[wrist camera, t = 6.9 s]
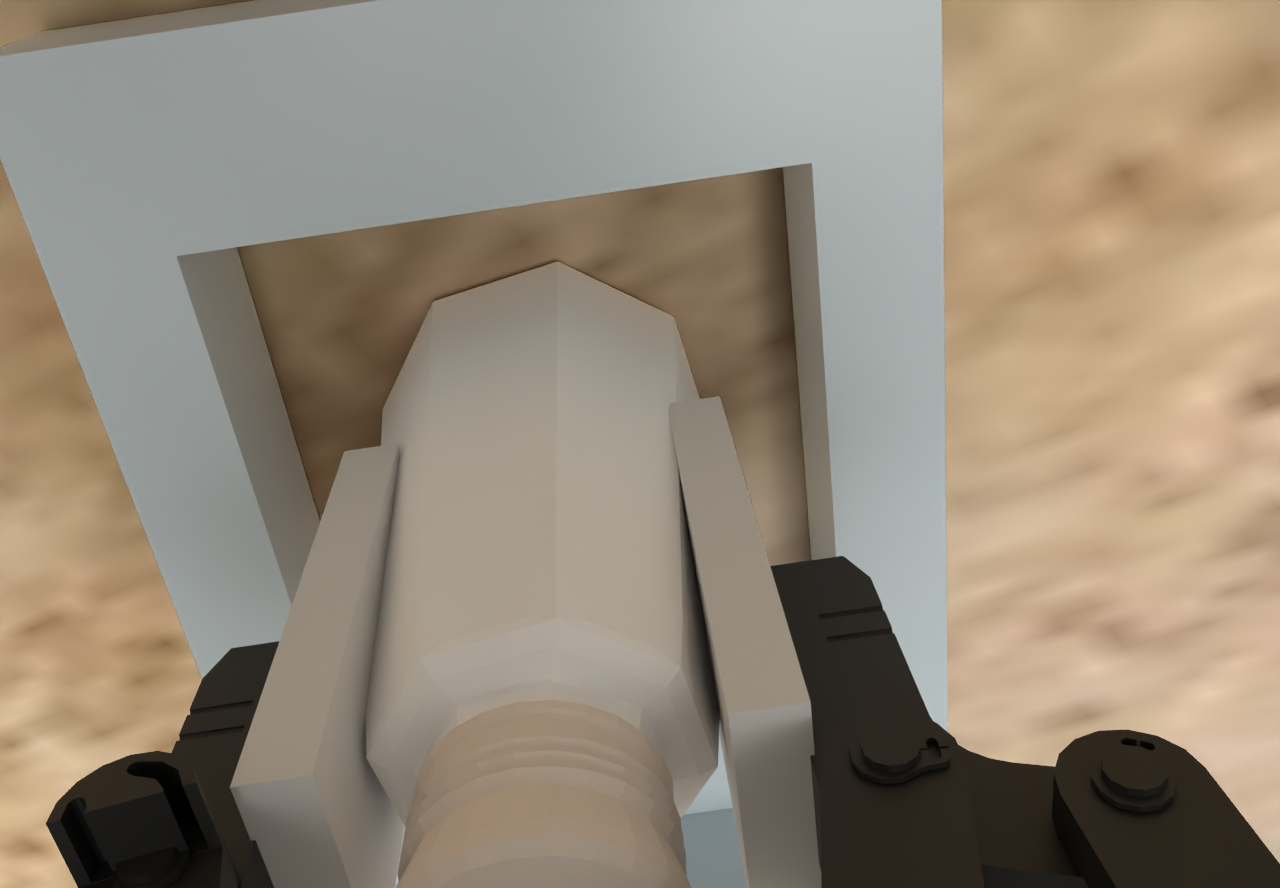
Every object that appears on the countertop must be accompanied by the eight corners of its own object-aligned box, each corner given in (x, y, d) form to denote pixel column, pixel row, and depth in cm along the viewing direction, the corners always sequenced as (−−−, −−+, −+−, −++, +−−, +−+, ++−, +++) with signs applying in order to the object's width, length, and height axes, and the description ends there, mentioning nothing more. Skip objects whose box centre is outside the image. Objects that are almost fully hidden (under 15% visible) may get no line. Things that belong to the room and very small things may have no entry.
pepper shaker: (689, 554, 21) (807, 1168, 11) (385, 542, 21) (235, 1176, 11) (726, 269, 19) (917, 739, 9) (382, 245, 18) (184, 720, 8)
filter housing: (42, 31, 16) (-269, 149, 10) (888, -94, 16) (1093, -52, 10) (376, 976, 26) (319, 1339, 19) (915, 898, 26) (1031, 1236, 19)
